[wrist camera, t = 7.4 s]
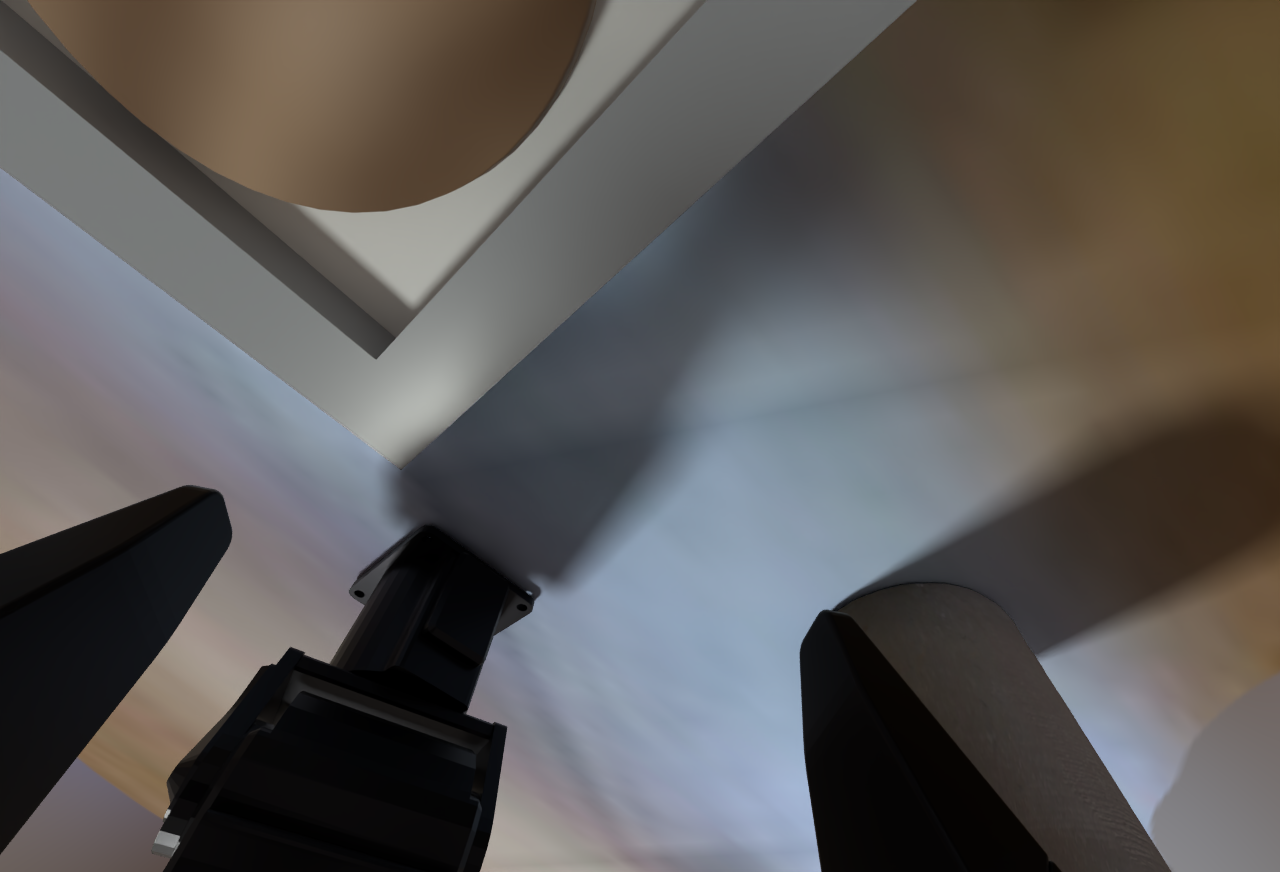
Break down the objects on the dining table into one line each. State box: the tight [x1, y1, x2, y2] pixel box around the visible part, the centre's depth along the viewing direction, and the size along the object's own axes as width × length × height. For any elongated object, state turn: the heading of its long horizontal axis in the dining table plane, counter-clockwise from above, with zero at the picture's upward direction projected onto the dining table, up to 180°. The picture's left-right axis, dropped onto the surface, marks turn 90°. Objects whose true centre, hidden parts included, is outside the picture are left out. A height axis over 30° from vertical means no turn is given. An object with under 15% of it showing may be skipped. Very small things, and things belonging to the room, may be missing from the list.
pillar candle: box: [837, 583, 1171, 872], centre depth 21 cm, size 10×10×15 cm
